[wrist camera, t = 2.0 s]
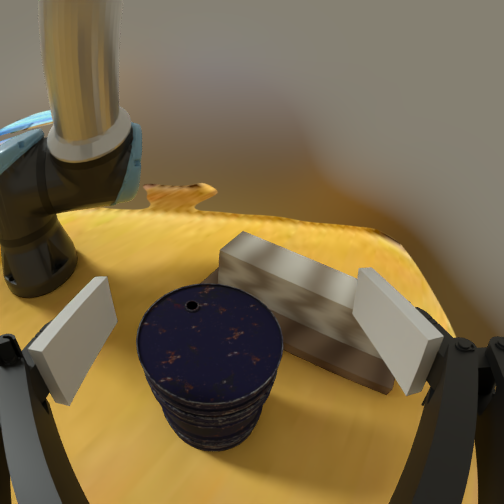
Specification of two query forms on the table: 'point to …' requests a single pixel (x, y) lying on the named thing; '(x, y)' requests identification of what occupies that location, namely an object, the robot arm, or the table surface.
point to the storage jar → (210, 361)
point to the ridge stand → (305, 307)
